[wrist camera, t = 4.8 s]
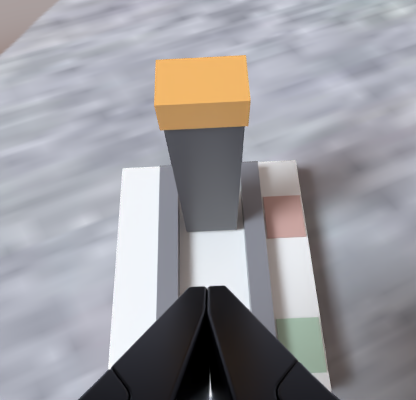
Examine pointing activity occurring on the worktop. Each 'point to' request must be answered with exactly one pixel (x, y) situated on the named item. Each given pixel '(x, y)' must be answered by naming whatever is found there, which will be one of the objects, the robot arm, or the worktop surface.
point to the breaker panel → (218, 258)
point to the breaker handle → (204, 134)
